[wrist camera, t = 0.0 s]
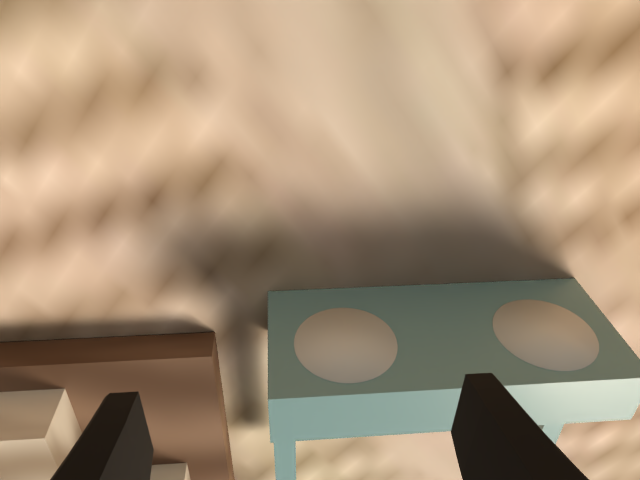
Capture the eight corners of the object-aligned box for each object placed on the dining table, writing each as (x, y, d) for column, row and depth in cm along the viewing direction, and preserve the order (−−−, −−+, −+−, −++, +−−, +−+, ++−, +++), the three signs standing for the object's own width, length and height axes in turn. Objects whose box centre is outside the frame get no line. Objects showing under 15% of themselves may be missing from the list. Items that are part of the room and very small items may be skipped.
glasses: (521, 420, 30) (572, 527, 25) (275, 436, 28) (277, 551, 24) (573, 275, 24) (654, 376, 19) (267, 288, 23) (267, 398, 18)
